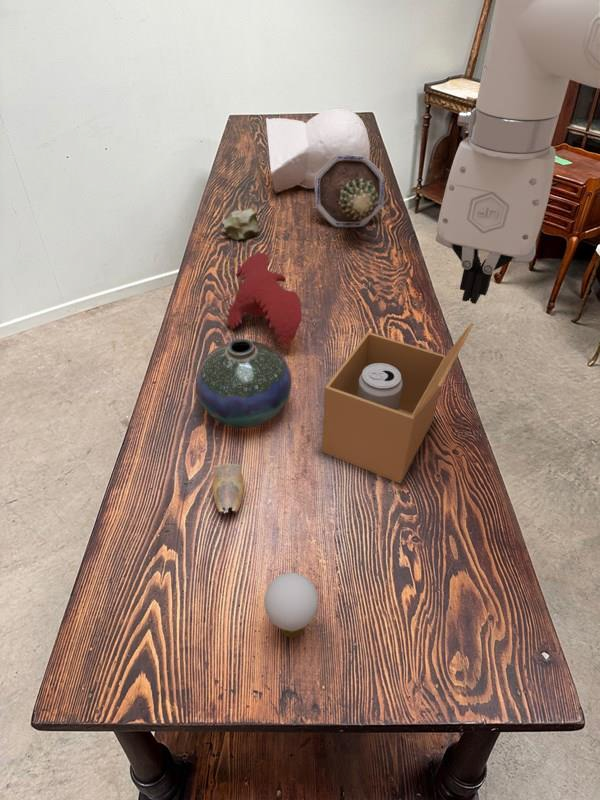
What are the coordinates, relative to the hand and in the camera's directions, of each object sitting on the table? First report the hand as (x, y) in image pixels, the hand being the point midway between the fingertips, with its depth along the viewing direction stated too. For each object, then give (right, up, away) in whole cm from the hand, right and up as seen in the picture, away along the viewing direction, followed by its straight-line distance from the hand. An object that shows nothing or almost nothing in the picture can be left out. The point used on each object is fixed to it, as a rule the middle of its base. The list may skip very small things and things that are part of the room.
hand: (472, 296), depth 64 cm
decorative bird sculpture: (-29, +4, +46) cm, 55 cm away
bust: (-15, +51, +97) cm, 111 cm away
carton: (-8, -18, +23) cm, 30 cm away
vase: (-29, -14, +27) cm, 42 cm away
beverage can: (-9, -18, +23) cm, 30 cm away
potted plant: (-8, +33, +78) cm, 85 cm away
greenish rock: (-35, +30, +74) cm, 88 cm away
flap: (-1, -8, +8) cm, 11 cm away
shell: (-31, -27, +13) cm, 43 cm away
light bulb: (-21, -39, 0) cm, 45 cm away
